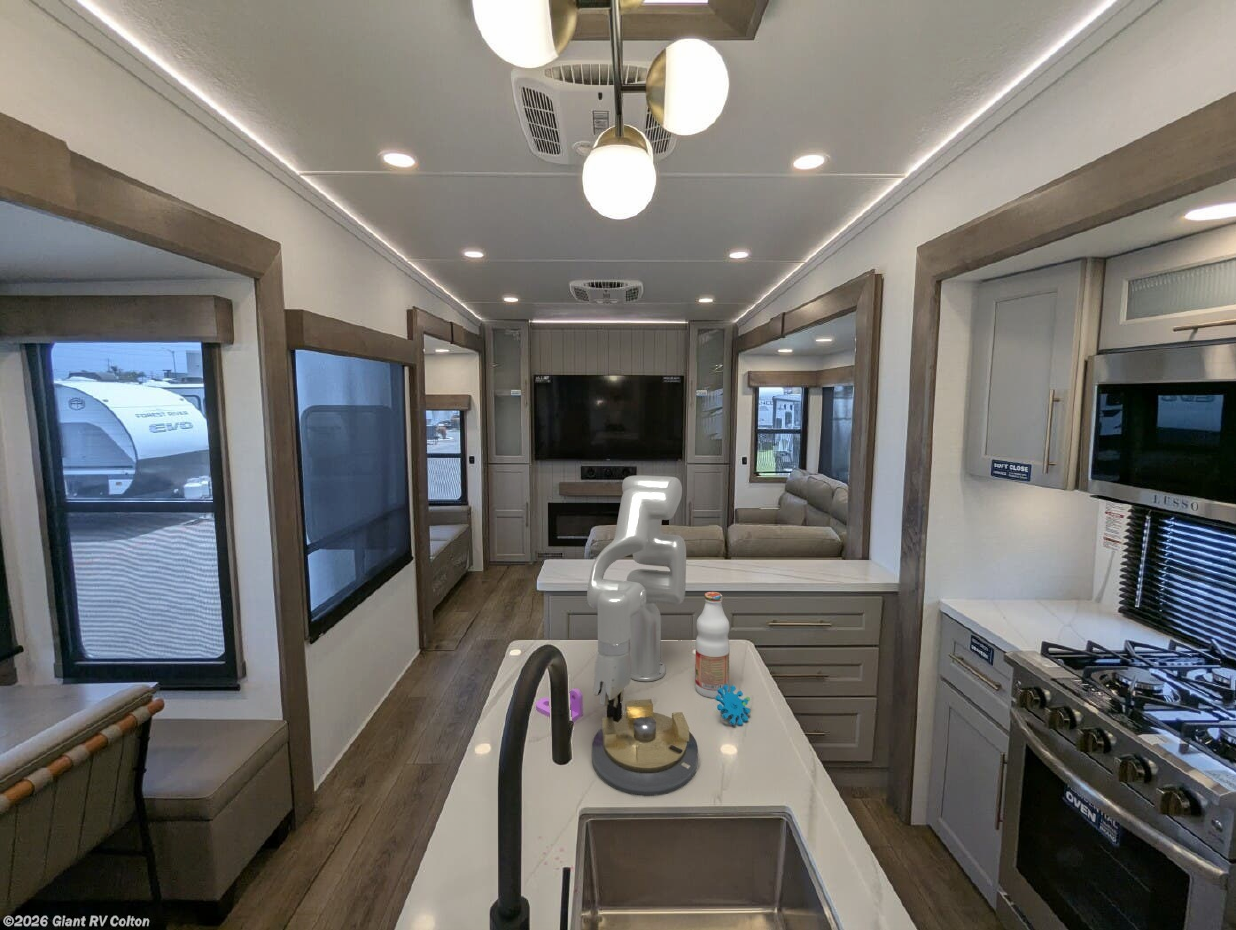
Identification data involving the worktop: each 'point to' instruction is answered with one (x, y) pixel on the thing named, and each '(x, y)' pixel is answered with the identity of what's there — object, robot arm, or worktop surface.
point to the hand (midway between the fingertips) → (614, 718)
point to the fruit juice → (712, 648)
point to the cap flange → (640, 780)
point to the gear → (732, 705)
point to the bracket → (575, 705)
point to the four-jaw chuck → (645, 738)
